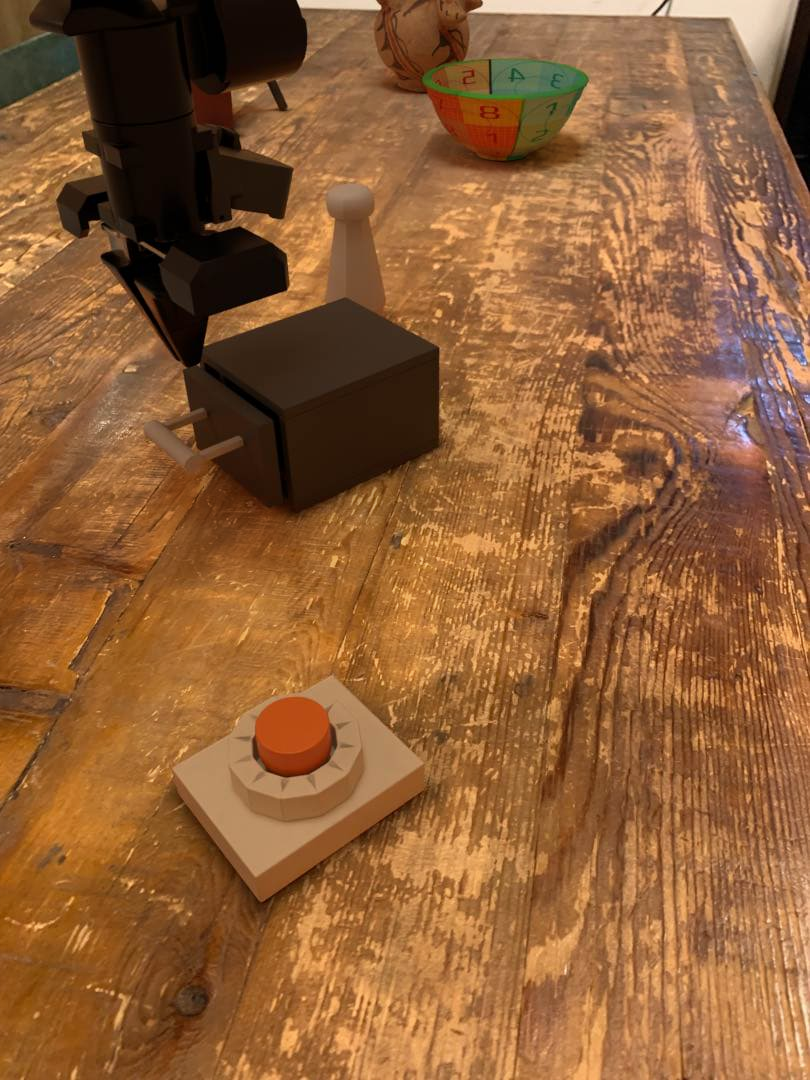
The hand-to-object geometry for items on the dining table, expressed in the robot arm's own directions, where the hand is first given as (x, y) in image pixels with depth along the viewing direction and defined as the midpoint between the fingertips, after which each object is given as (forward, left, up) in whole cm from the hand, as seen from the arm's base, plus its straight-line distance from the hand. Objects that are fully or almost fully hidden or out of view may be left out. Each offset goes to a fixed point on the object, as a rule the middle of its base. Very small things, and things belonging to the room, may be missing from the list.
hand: (188, 362), depth 63 cm
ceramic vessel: (+90, +82, -11) cm, 122 cm away
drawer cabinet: (+10, 0, -11) cm, 15 cm away
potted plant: (+50, +86, -11) cm, 100 cm away
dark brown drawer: (+6, 0, -10) cm, 12 cm away
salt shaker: (+25, +16, -11) cm, 32 cm away
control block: (-10, -26, -11) cm, 30 cm away
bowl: (+73, +46, -11) cm, 87 cm away
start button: (-10, -26, -7) cm, 29 cm away
